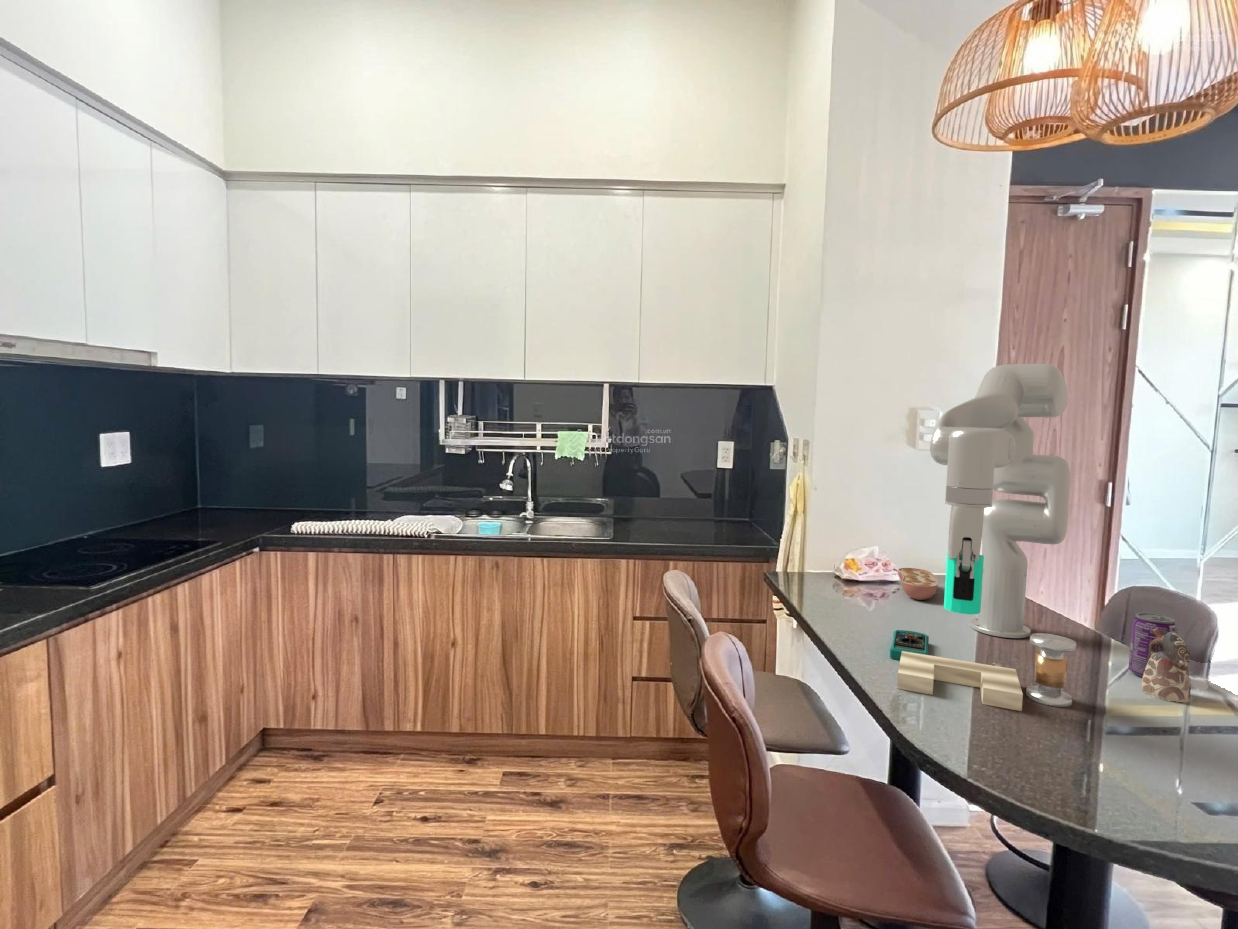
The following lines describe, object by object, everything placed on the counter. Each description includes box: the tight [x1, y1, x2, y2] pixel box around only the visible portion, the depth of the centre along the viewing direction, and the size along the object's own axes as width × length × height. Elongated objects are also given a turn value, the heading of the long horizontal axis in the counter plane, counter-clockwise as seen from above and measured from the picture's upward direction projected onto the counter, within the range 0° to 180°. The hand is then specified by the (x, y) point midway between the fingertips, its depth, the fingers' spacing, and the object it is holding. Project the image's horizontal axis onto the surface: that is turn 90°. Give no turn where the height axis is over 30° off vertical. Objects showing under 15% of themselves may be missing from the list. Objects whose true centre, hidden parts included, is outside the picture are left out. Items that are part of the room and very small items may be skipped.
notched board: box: [896, 651, 1024, 712], centre depth 125 cm, size 13×20×3 cm, turn 64°
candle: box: [943, 551, 984, 615], centre depth 122 cm, size 6×6×12 cm
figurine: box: [1141, 628, 1192, 703], centre depth 123 cm, size 7×7×12 cm
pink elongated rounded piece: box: [897, 567, 939, 601], centre depth 193 cm, size 23×10×5 cm, turn 161°
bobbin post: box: [1025, 632, 1077, 708], centre depth 120 cm, size 7×7×11 cm
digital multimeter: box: [889, 629, 930, 661], centre depth 144 cm, size 7×15×3 cm, turn 155°
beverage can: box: [1127, 612, 1179, 678], centre depth 132 cm, size 7×7×12 cm
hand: (962, 594), depth 122 cm, fingers closed on candle, 4 cm apart
